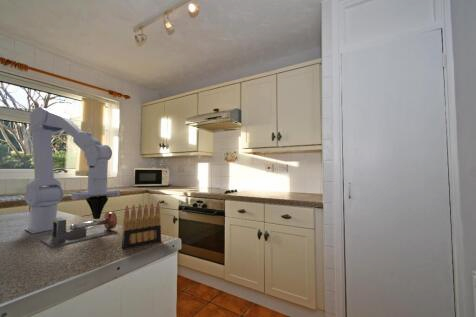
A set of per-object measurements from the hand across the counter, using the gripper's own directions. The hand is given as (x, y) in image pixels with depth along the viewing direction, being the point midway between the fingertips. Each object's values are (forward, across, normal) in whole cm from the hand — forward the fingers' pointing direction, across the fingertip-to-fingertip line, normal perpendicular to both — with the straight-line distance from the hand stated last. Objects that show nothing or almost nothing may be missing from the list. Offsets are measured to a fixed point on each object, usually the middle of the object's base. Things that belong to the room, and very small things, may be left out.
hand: (96, 218), depth 77 cm
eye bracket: (+5, -4, 0) cm, 7 cm away
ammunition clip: (+5, +3, -23) cm, 24 cm away
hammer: (+4, -1, 0) cm, 5 cm away
